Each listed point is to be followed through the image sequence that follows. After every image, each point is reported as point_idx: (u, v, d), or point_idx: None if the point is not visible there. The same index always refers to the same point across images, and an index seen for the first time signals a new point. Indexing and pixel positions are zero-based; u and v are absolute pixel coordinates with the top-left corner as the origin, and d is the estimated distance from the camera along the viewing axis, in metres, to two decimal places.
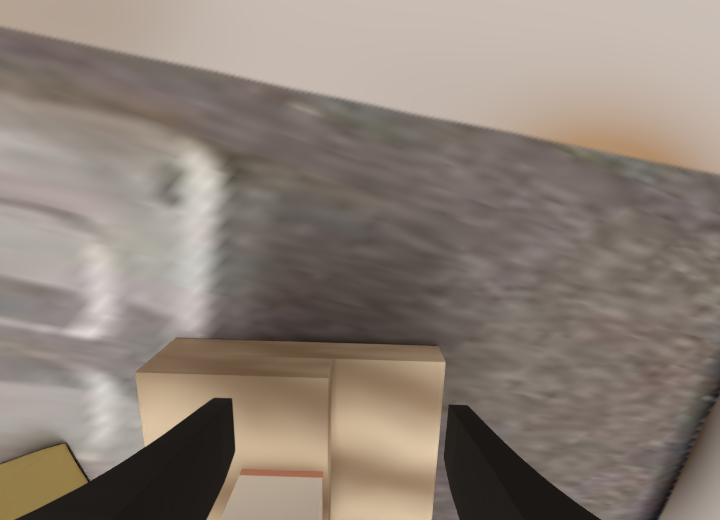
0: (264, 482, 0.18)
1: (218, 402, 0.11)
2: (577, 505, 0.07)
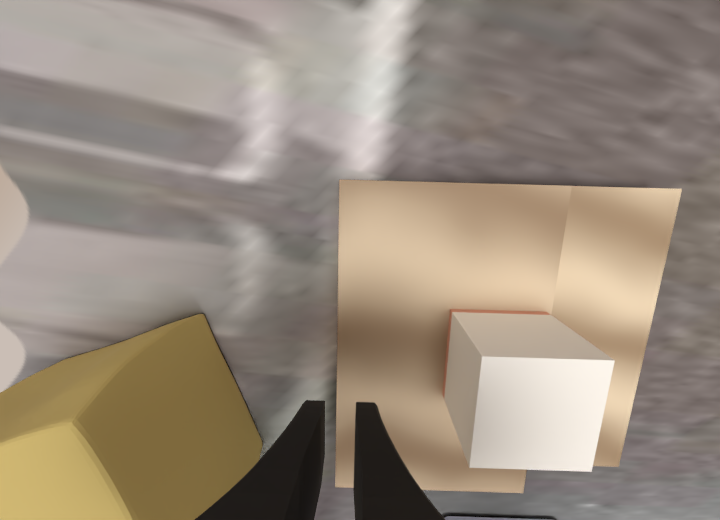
0: (488, 316, 0.15)
1: (314, 404, 0.11)
2: (425, 500, 0.07)
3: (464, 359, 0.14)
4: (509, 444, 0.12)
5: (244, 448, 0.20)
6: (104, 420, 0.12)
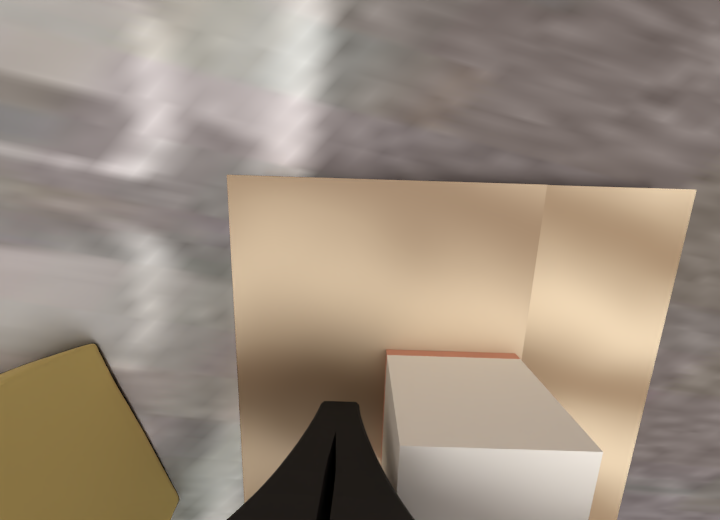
0: (433, 363, 0.11)
1: (332, 405, 0.11)
2: (395, 499, 0.07)
3: (390, 431, 0.10)
4: None
5: (143, 512, 0.16)
6: None
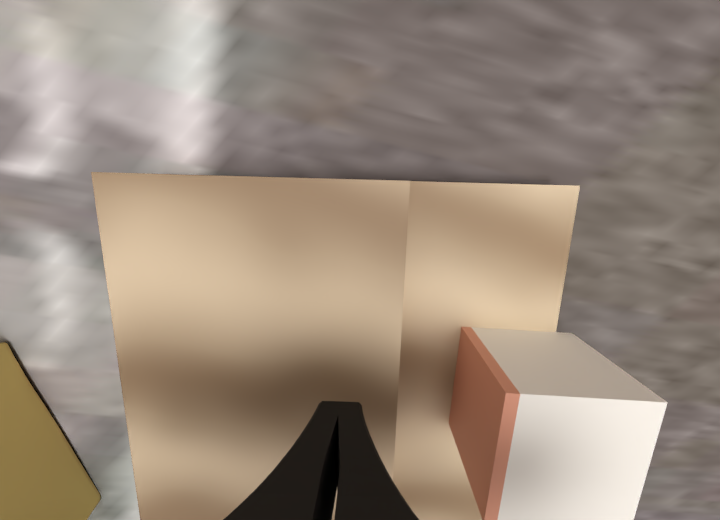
0: (513, 366, 0.11)
1: (330, 405, 0.11)
2: (399, 499, 0.07)
3: (594, 432, 0.10)
4: None
5: (52, 511, 0.16)
6: None
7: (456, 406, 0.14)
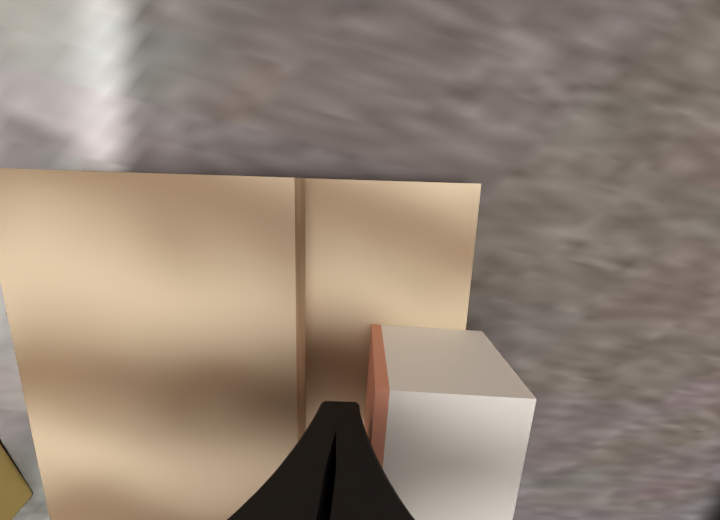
0: (399, 363, 0.11)
1: (332, 405, 0.11)
2: (395, 499, 0.07)
3: (467, 428, 0.10)
4: None
5: None
6: None
7: (366, 404, 0.14)
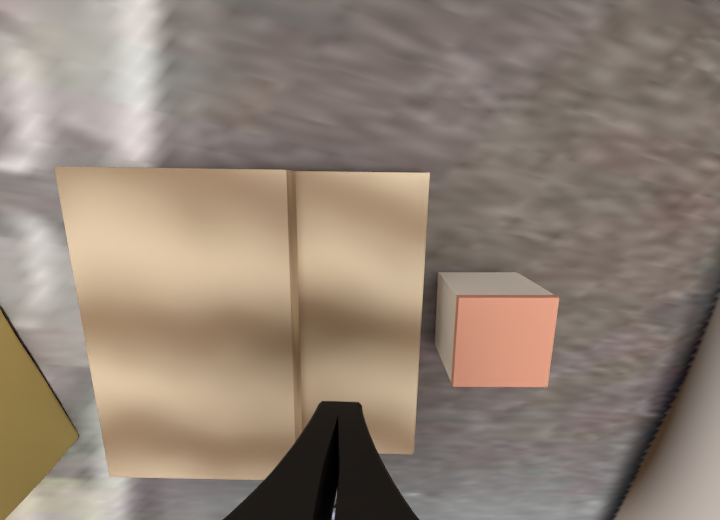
0: (517, 291, 0.16)
1: (330, 405, 0.11)
2: (399, 499, 0.07)
3: None
4: None
5: (37, 439, 0.20)
6: None
7: (470, 360, 0.16)
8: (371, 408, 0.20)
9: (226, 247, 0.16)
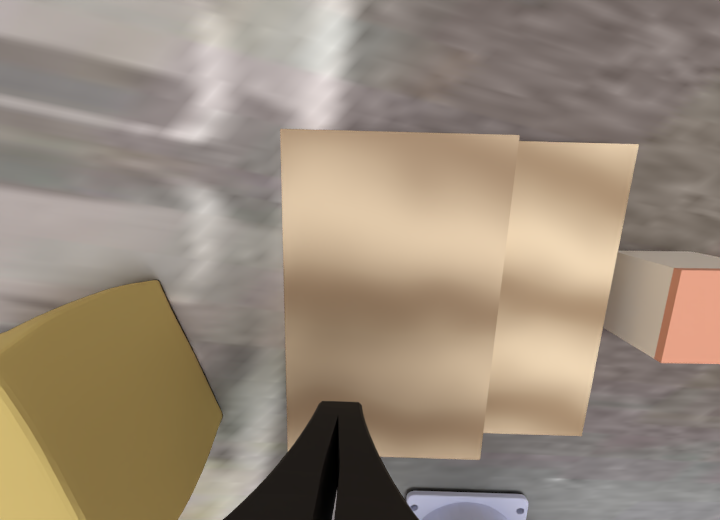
0: None
1: (330, 405, 0.11)
2: (399, 499, 0.07)
3: None
4: None
5: (198, 416, 0.20)
6: (24, 367, 0.12)
7: (683, 336, 0.16)
8: (545, 387, 0.19)
9: (445, 215, 0.15)
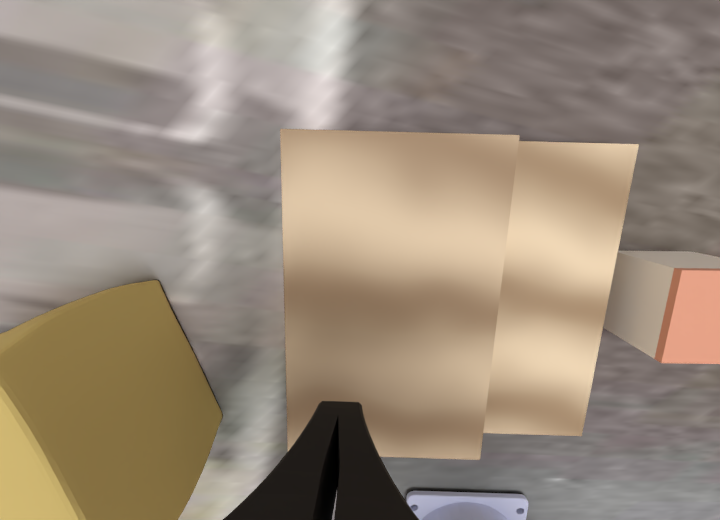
0: None
1: (330, 405, 0.11)
2: (399, 499, 0.07)
3: None
4: None
5: (198, 416, 0.20)
6: (24, 367, 0.12)
7: (683, 336, 0.16)
8: (545, 387, 0.19)
9: (445, 215, 0.15)
